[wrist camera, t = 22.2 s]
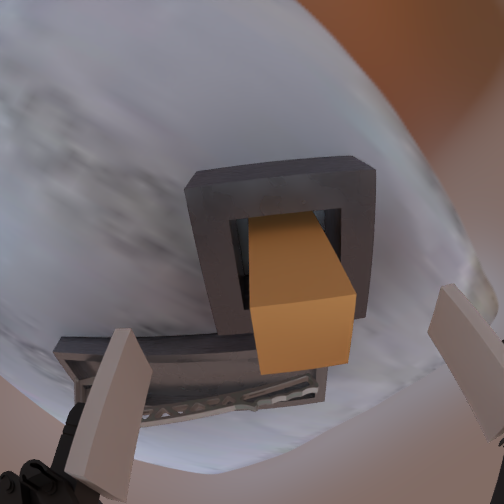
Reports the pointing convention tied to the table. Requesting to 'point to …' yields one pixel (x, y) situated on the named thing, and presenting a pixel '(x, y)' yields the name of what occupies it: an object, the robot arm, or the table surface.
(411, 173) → the table surface
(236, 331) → the socket
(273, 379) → the tray
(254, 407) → the bracket
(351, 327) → the tan rectangular block
